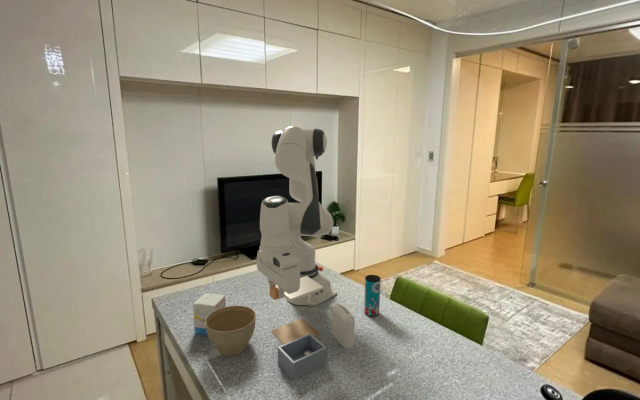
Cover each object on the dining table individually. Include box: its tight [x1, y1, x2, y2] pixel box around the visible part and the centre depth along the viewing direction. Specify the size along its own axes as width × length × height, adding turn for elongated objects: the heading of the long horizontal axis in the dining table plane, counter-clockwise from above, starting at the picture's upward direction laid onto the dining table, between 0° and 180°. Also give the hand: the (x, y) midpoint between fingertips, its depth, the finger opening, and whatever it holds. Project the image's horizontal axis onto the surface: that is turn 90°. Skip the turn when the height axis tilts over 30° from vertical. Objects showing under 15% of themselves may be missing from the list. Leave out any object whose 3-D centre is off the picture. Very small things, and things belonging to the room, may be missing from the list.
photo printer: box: [331, 303, 356, 349], centre depth 114 cm, size 10×4×12 cm, turn 26°
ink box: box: [192, 292, 227, 336], centre depth 121 cm, size 8×8×12 cm
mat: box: [269, 318, 322, 345], centre depth 119 cm, size 14×12×1 cm
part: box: [303, 348, 312, 357], centre depth 105 cm, size 3×3×2 cm
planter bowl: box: [205, 305, 257, 356], centre depth 110 cm, size 16×16×11 cm
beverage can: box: [363, 274, 381, 317], centre depth 131 cm, size 6×6×15 cm
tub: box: [277, 334, 328, 381], centre depth 102 cm, size 12×9×6 cm
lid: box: [269, 276, 324, 302], centre depth 105 cm, size 16×10×4 cm, turn 127°
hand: (277, 294), depth 102 cm, fingers closed on lid, 3 cm apart
